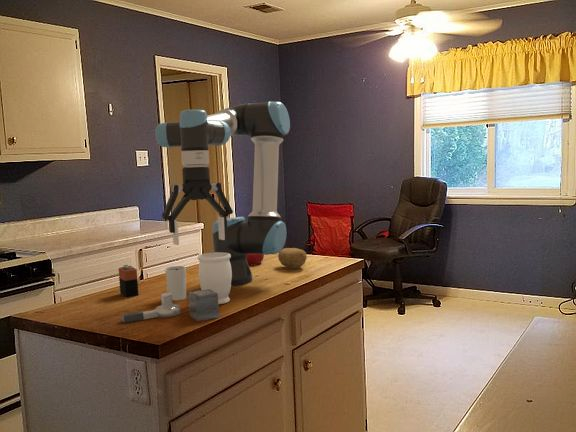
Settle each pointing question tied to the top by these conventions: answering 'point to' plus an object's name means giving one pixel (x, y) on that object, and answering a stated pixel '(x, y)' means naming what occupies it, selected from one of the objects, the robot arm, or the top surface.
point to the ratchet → (161, 311)
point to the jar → (216, 274)
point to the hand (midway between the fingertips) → (199, 241)
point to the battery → (128, 281)
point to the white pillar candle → (176, 282)
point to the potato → (292, 257)
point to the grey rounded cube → (203, 304)
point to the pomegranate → (254, 258)
